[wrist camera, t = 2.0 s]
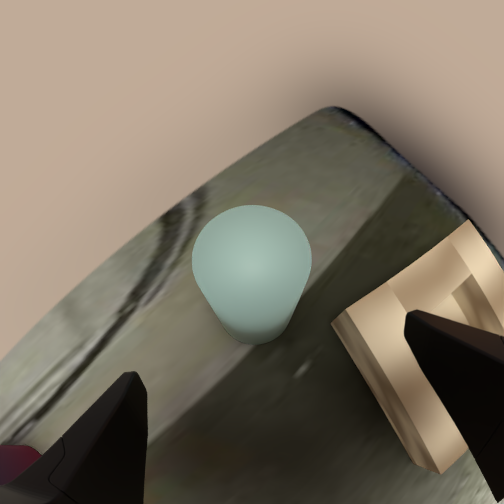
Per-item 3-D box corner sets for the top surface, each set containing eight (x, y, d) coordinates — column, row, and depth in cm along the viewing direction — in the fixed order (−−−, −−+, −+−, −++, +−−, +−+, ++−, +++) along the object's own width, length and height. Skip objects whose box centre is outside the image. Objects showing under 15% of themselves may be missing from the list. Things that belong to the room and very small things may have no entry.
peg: (304, 322, 20) (334, 277, 12) (240, 357, 19) (225, 337, 11) (268, 263, 22) (273, 189, 14) (207, 295, 21) (174, 235, 13)
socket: (513, 359, 18) (542, 350, 14) (413, 463, 15) (440, 474, 12) (445, 242, 22) (468, 219, 19) (330, 323, 20) (345, 309, 17)
